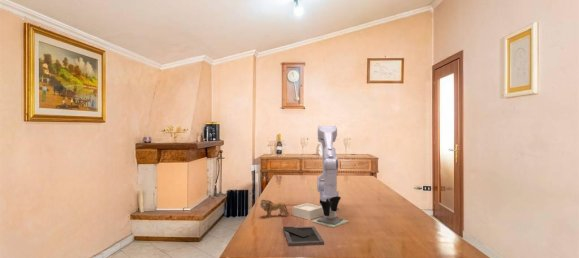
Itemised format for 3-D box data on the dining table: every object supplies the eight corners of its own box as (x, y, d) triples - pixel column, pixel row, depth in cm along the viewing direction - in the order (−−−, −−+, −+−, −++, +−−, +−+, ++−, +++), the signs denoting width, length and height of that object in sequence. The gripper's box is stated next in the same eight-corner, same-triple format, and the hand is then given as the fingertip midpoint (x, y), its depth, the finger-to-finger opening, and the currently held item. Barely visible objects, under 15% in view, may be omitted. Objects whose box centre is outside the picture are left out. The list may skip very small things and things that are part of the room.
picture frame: (283, 231, 134) (288, 247, 116) (283, 226, 134) (288, 242, 116) (314, 230, 136) (324, 245, 118) (314, 225, 136) (324, 240, 118)
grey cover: (325, 216, 152) (325, 207, 152) (343, 220, 148) (343, 210, 148) (316, 221, 145) (316, 212, 145) (335, 225, 140) (335, 215, 140)
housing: (306, 211, 164) (306, 202, 164) (323, 215, 157) (324, 206, 157) (292, 215, 156) (292, 206, 156) (309, 220, 149) (309, 211, 149)
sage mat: (327, 216, 155) (327, 215, 155) (348, 221, 146) (348, 220, 146) (311, 221, 146) (311, 220, 146) (333, 227, 138) (333, 226, 138)
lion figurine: (261, 219, 149) (261, 200, 149) (258, 216, 154) (258, 197, 154) (291, 216, 155) (291, 197, 155) (287, 213, 160) (287, 195, 160)
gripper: (329, 181, 154) (329, 209, 154) (315, 185, 142) (315, 216, 142) (342, 182, 151) (342, 211, 151) (329, 187, 138) (329, 218, 138)
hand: (330, 213), depth 146 cm, fingers open, 7 cm apart
